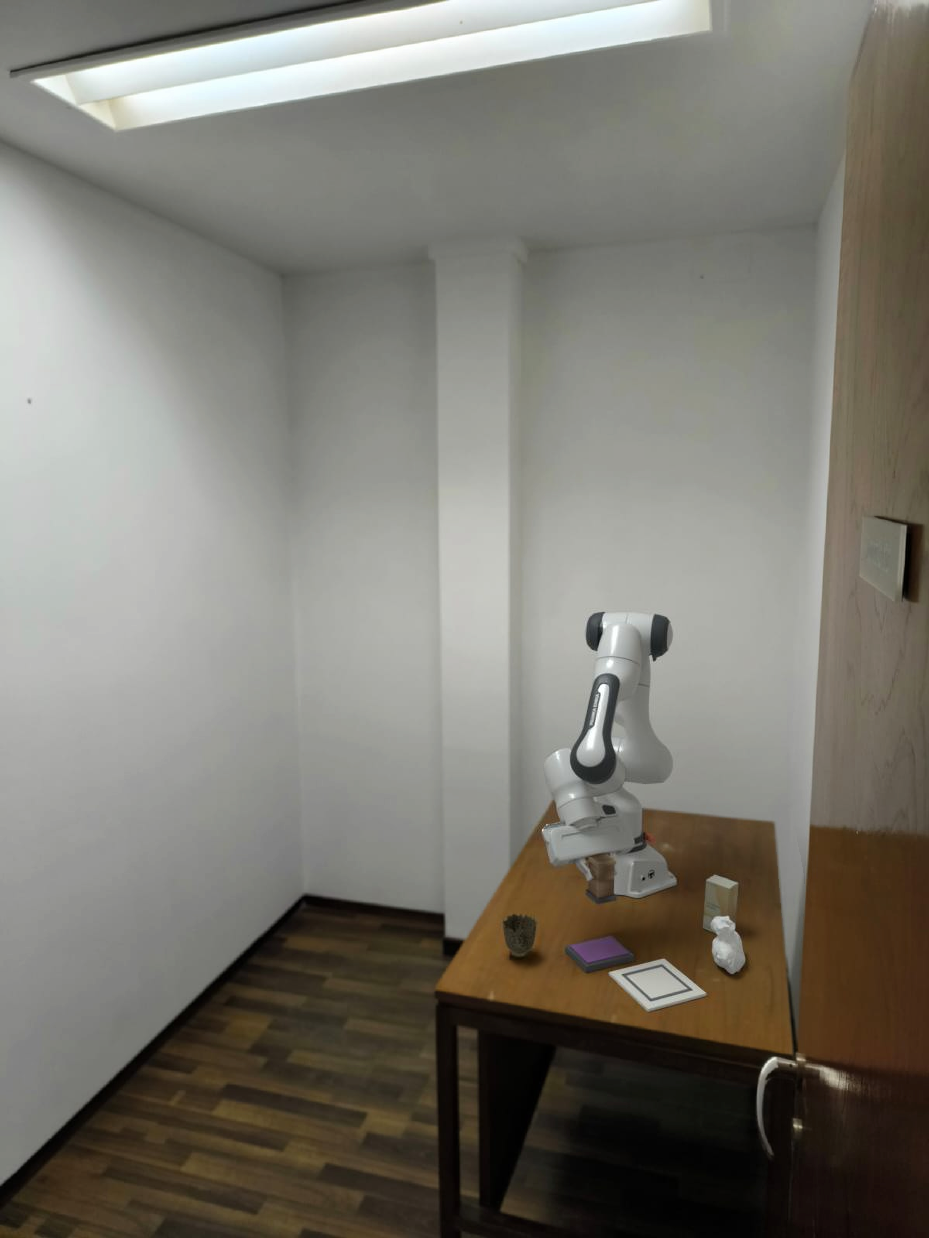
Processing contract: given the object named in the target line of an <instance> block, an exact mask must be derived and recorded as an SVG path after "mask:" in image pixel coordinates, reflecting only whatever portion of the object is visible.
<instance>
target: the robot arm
mask: <svg viewBox="0 0 929 1238" xmlns="http://www.w3.org/2000/svg"><path fill="white" fill-rule="evenodd" d="M584 637H585V641H586V645H587V646H588V648H589V649H591V651H595V652H596V655H595V661H594V666H593V674H592V686H591V691H590V695H589V700H588V704H587V709H586V713H585V717H584V722H583V727H582V730H581V732H580V734H579V736H578V738H577V740H576V741H575V743H574V745H573V746H572V748H568V747H564V748H559V749H557V750H555V751H553V752H552V753H550V754H549V755H548V757H547V758H546V759H545V761H544V764H543V771H544V772H543V773H544V778H545V781H546V784H547V788H548V791H549V793H550V796H551V798H552V799H553V800H554V803H555V805H556V812H557V813H556V814H557V815H558V818H559V820H560V821H556V822H553V823H547V824H545V826H543V828H542V829H541V836H542V838H543V840H544V842H545V845H546V846H545V847H546V850H547V855H548V859H549V862H550V864H551V865H552V866H554V867H562V866H567V865H571V864H575V866H576V868H577V869H578V870H579V871H580V872H581V873H583V874H584V876H585V878H586V881H587V882H588V881H592V880H594V879H596V875H595V874H594V870H590V869H589V866H587V865H586V863H587V861H588V862H589V860H587V857H589V856H594V855H599V854H604V853H606V854H608V855H609V856H610V857H612V858H613V859H614V860H616V864H615V870H614V894H616V895H617V896H618V895H620V896H626V897H627V896H628V897H630V898H635V899H641V898H643V897H647V896H649V895H652V894H655V893H657V892H660V891H662V890H665V889H668V888H671V887H674V886H677V884H678V883H677V882H678V881H677V878H676V877H675V875H674V874H673V873H672V872H671V871H670V870H669V869H668V863H667V860H666V859H665V857H664V856H663V854H661V853H660V852H658V851H657V850H656V849H654V847H652V846H650V844H648V843H647V842H649V843H653V842H655V840H656V838H655V837H656V836H654V834H651V833H650V832H647V833H646V831H645V830H642V827H643V826H642V825H643V823H642V822H643V807H642V804H641V802H640V800H639V799H638V798H637V796H635V795H634V794H633V793H631V792H629V791H628V790H626V788H625V787H624V786H623V785H624V784H625V782H626V783H631V784H632V783H634V784H640V785H653V784H654V785H656V784H663V783H664V782H666V781H667V780H668V778H670V777H671V776H670V775H671V774H672V771H673V768H674V767H673V766H674V759H673V755H672V753H671V751H670V750H669V749H668V747H667V746H666V745H665V744H664V743H663V742H662V741H661V740H660V739H659V738H658V736H657V735H656V733H655V732H654V729H653V727H652V723H651V719H650V691H651V679H652V678H651V675H652V674H651V660H650V656H651V657H652V662H656V661H657V658H661V657H662V656H664V655H665V654H666V653H667V652H668V651H669V649H670V646H671V644H672V643H673V637H674V631H673V627H672V624H671V620H670V619H669V618H668V616H665V615H662V614H658V613H654V614H651V613H646V612H638V611H626V612H625V611H618V612H617V611H615V612H606V611H599V612H594V613H592V614H591V615H590V616H589V618H587V622H586V625H585V629H584ZM614 723H616V724H617V725H618V726H621V727H622V728H623V729H624V731H625V737H614V736H612V733H613V728H614ZM595 797H596V801H595V799H594V798H595Z"/></svg>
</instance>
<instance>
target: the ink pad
mask: <svg viewBox="0 0 929 1238" xmlns="http://www.w3.org/2000/svg"><path fill="white" fill-rule="evenodd" d="M564 953H565V954H566V955H567V956H568V957H569V958H570V959H572V961H573V962H575V963H576V965H578V967H579V968H580V969H581V970H583V972H585V973H587V974H588V973H591V972H595V971H599V970H603V969H607V968H611V967H615V966H620V965H623V964H628V963H631V962H635V954H634V953H632V952H631V951H630V949H628V948H626V947H625V946H624V944H622V943H621V942H620V941H618V940H617V939H616V938H615V937H614V936H613V935H606V936H604V937H599V938H598V937H597V938H594V939H590V940H586V941H581V942H577V943H573V944H567V945H564Z"/></svg>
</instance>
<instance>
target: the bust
mask: <svg viewBox="0 0 929 1238" xmlns="http://www.w3.org/2000/svg"><path fill="white" fill-rule="evenodd" d="M711 928H712V930H714V931H715V932H716V933H717V934H716V933H715V934H716V937H715V938H714V939H713V940H712V942H711V943H712V947H711V953H712V957H713V960H714V962H715V964H716V965H717V966H719V967H720V968H723V969H725V970H726V971H727V973H729V974H730V975H734V974H735V973H736V972H740V970H741V969H742V967H743V966H744V965H745V963H746V956H745V953H744V949H743V940H742V938H741V936H740V935H739V933H738V932H737V931H736V924H735V923H733V922H732V921H731V920H730V919H729V916H726V917H725V916H724V917H721V916H717V917H714V919H713V920H712V922H711ZM734 930H735V931H734Z"/></svg>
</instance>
